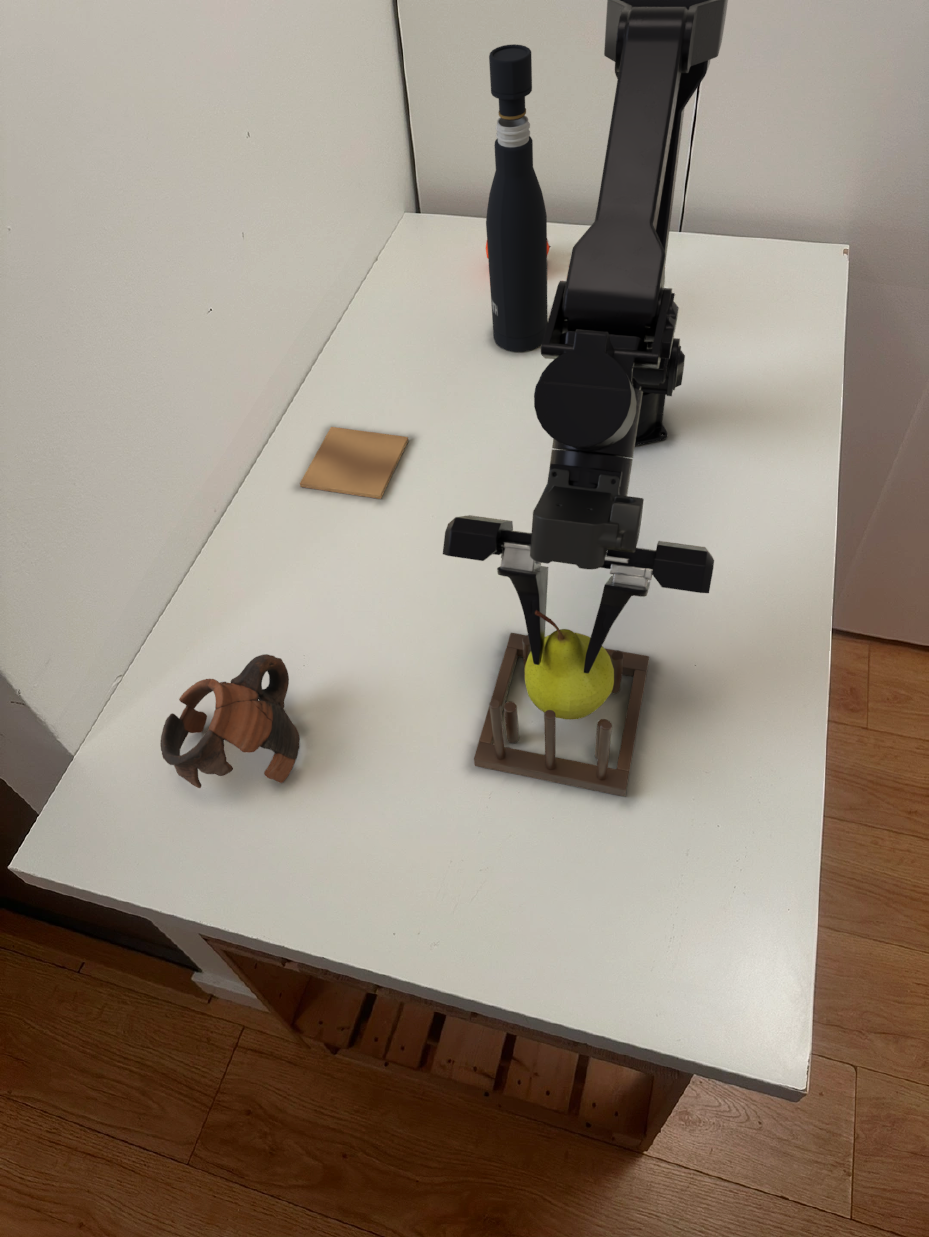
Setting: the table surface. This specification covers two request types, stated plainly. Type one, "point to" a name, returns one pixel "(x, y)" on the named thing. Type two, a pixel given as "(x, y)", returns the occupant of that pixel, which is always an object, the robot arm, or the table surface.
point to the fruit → (568, 675)
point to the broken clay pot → (235, 723)
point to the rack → (549, 764)
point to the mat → (355, 462)
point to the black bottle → (515, 211)
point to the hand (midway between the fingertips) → (561, 668)
